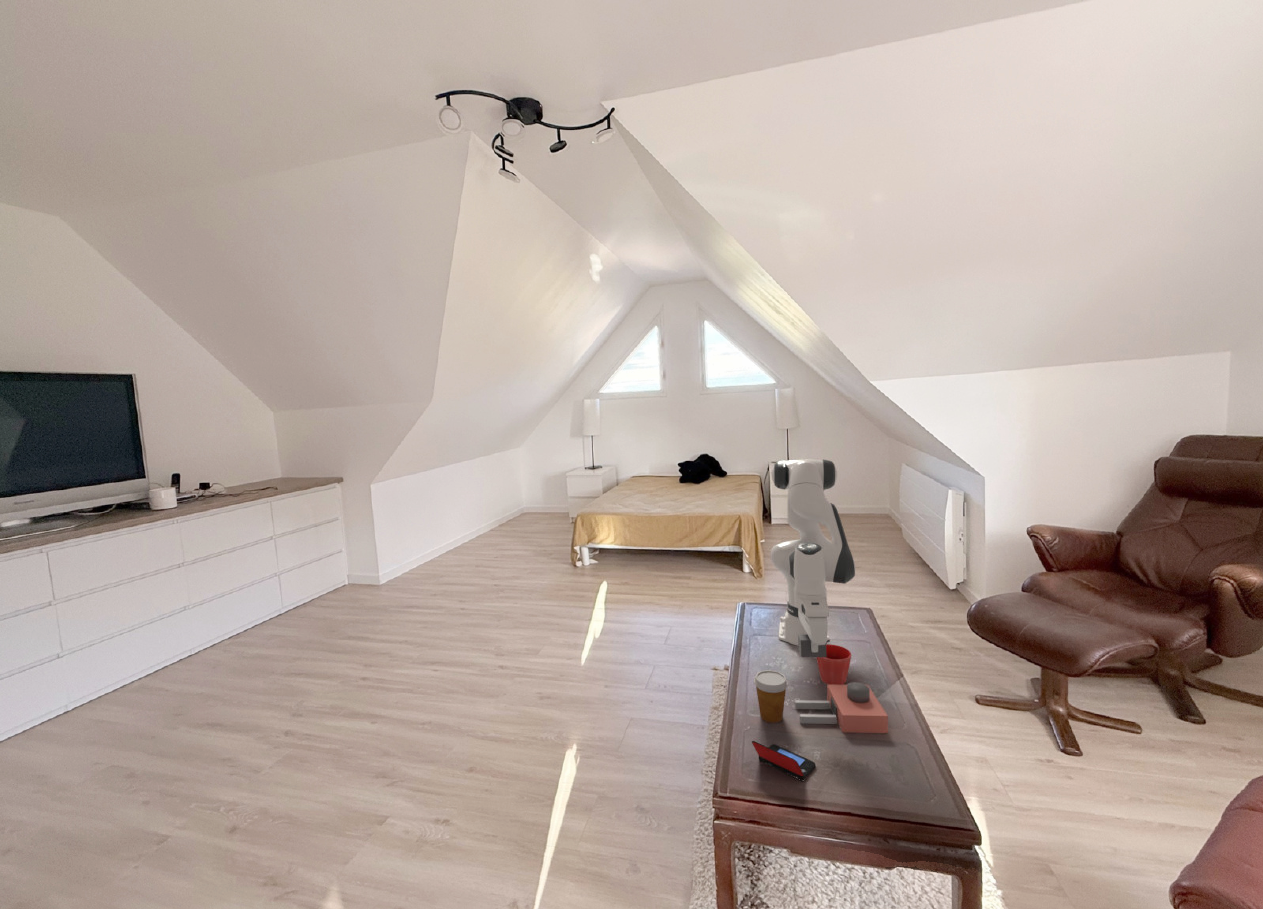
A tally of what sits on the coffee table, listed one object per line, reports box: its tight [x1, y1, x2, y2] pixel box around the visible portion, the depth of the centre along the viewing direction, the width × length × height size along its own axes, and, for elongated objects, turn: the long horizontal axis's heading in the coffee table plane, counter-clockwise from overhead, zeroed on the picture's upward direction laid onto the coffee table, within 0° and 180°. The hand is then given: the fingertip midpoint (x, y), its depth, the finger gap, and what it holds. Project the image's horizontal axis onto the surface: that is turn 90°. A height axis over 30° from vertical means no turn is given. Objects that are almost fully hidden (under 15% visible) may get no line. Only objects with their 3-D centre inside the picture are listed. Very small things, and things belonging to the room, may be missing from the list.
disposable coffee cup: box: [753, 669, 789, 724], centre depth 156 cm, size 10×10×12 cm
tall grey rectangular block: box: [797, 635, 827, 658], centre depth 155 cm, size 4×7×5 cm, turn 84°
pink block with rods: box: [794, 681, 889, 734], centre depth 155 cm, size 16×22×8 cm
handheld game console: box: [751, 740, 816, 781], centre depth 135 cm, size 12×11×7 cm
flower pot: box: [816, 643, 852, 685], centre depth 174 cm, size 11×11×10 cm
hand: (812, 647), depth 155 cm, fingers closed on tall grey rectangular block, 4 cm apart
